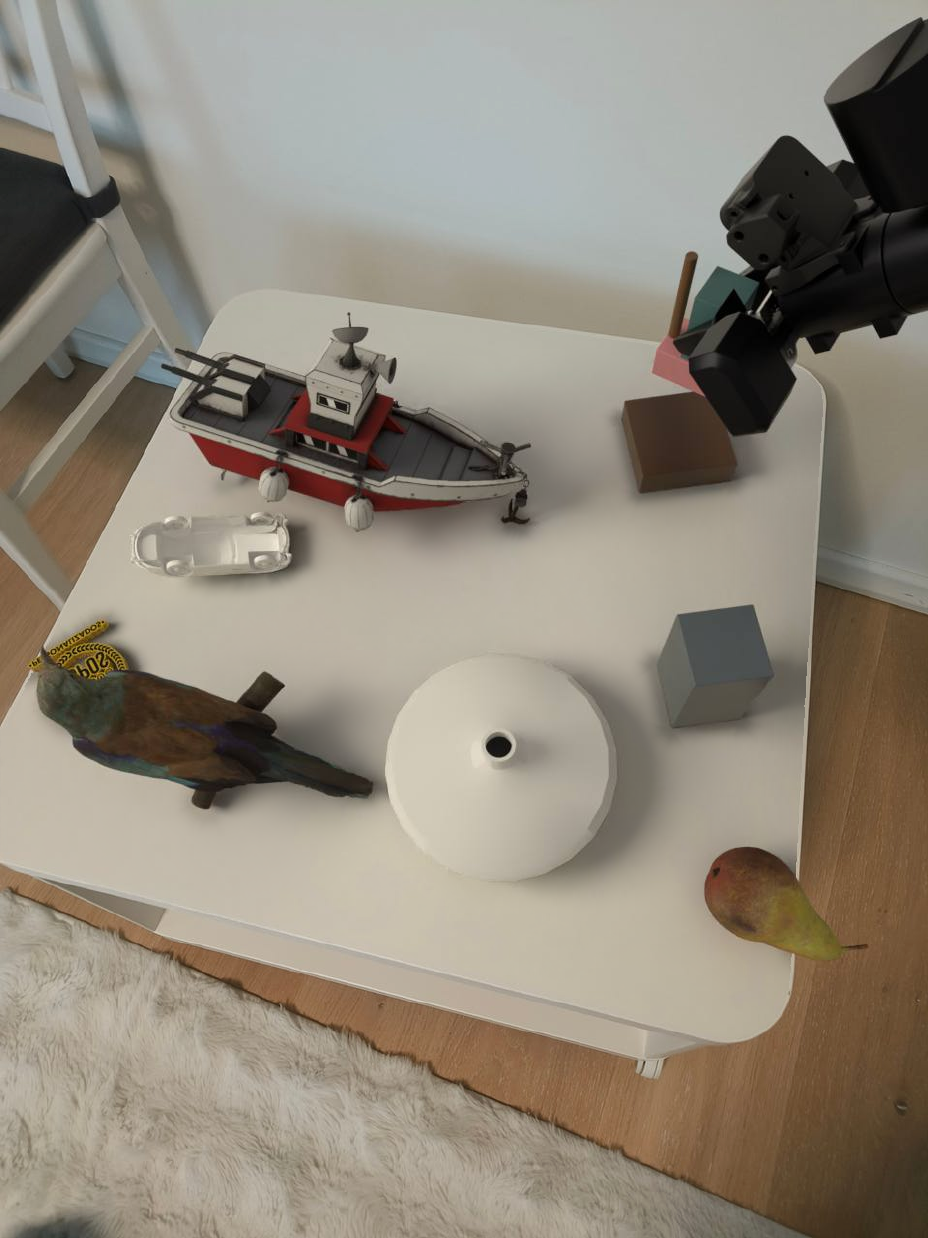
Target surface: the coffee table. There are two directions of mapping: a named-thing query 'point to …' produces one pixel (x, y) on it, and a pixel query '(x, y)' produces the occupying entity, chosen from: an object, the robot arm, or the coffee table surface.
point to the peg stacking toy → (697, 316)
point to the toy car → (213, 545)
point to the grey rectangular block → (713, 665)
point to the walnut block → (677, 442)
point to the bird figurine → (183, 733)
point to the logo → (85, 654)
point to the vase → (501, 767)
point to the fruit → (768, 905)
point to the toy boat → (339, 435)
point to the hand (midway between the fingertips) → (688, 328)
